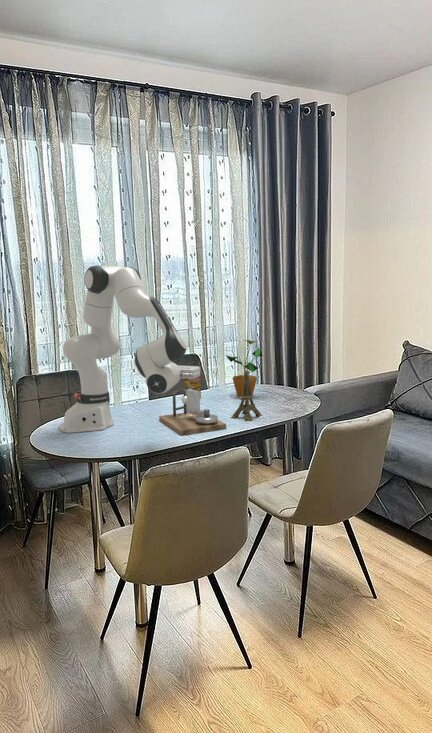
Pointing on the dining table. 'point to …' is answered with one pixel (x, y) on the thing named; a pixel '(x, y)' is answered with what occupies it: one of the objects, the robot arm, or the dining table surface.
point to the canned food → (193, 384)
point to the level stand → (187, 420)
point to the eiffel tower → (246, 401)
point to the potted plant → (240, 379)
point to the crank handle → (198, 408)
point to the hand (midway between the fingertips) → (178, 367)
